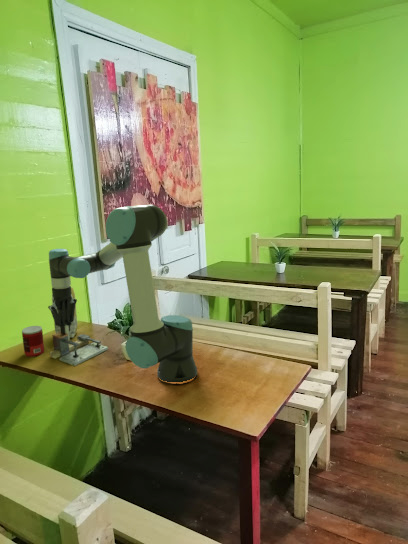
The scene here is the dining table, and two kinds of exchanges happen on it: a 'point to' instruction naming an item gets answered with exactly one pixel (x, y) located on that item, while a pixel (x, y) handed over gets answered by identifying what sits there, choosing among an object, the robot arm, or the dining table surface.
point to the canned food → (33, 341)
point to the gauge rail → (81, 340)
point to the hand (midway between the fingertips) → (66, 339)
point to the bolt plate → (83, 354)
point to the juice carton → (73, 324)
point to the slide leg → (63, 343)
